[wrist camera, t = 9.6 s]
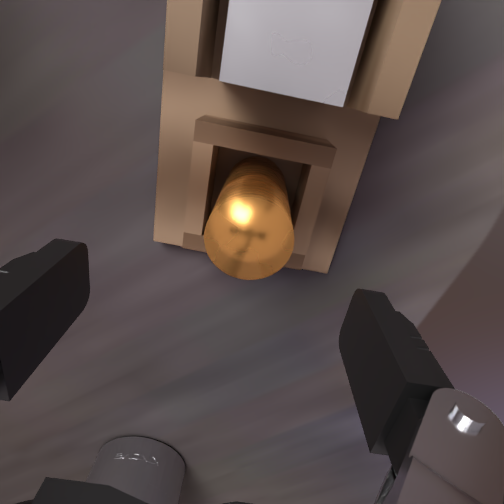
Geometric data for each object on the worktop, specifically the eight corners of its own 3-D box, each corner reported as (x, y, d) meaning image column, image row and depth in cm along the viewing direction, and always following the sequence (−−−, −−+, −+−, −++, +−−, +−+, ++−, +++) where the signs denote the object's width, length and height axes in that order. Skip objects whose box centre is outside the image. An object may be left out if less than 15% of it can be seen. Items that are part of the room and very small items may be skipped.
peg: (291, 163, 20) (304, 207, 13) (277, 219, 21) (282, 286, 14) (231, 150, 20) (210, 188, 12) (222, 208, 21) (198, 271, 14)
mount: (324, 266, 24) (369, 411, 13) (157, 234, 23) (67, 359, 13) (469, -167, 14) (1045, -879, 4) (189, -239, 14) (-79, -1318, 3)
